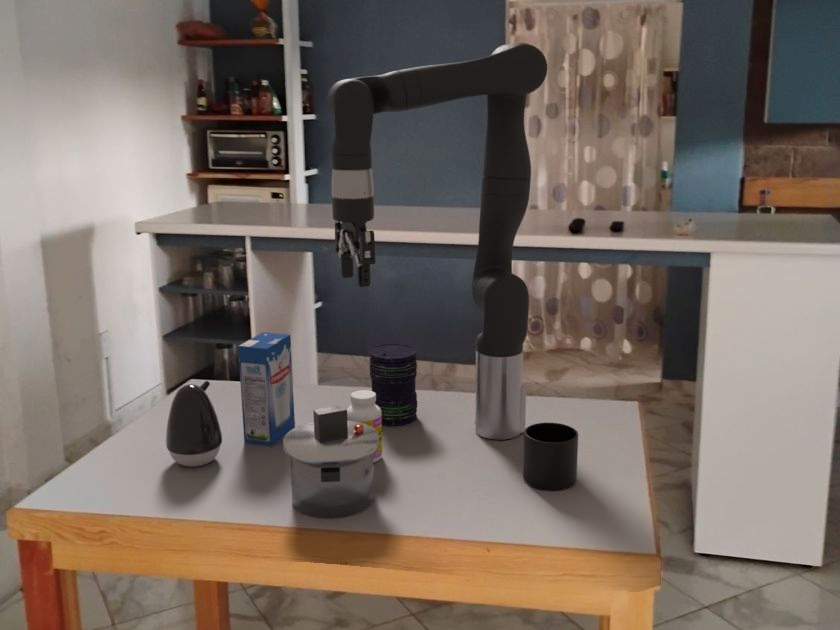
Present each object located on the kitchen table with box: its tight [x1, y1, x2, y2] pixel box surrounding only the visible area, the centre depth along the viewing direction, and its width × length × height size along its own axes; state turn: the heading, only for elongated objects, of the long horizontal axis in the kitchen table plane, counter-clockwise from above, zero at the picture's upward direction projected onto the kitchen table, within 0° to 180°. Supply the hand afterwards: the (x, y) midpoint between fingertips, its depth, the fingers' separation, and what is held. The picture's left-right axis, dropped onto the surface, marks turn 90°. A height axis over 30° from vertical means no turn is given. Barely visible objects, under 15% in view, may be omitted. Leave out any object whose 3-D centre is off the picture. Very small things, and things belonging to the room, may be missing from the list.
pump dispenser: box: [165, 380, 223, 468], centre depth 165 cm, size 10×10×15 cm
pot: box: [289, 453, 375, 519], centre depth 151 cm, size 18×14×10 cm
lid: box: [282, 404, 379, 464], centre depth 148 cm, size 16×16×6 cm
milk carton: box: [237, 331, 296, 447], centre depth 176 cm, size 10×6×20 cm, turn 161°
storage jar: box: [369, 343, 418, 428], centre depth 185 cm, size 10×10×15 cm
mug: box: [522, 422, 579, 491], centre depth 158 cm, size 9×12×9 cm
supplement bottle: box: [346, 389, 383, 464], centre depth 166 cm, size 7×7×13 cm
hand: (355, 281), depth 164 cm, fingers open, 8 cm apart
